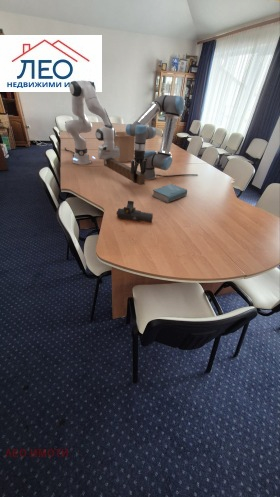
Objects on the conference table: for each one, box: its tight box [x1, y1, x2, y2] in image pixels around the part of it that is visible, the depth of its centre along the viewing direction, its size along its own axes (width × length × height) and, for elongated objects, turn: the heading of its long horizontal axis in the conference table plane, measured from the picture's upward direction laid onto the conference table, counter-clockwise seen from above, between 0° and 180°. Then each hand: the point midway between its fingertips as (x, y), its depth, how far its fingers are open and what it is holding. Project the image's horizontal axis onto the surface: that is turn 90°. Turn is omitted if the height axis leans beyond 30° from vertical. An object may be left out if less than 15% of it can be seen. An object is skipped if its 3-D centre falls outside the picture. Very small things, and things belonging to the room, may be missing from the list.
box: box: [114, 129, 135, 163], centre depth 244 cm, size 44×36×27 cm
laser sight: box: [116, 200, 154, 223], centre depth 136 cm, size 10×22×10 cm, turn 78°
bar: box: [103, 158, 146, 186], centre depth 182 cm, size 56×5×7 cm, turn 36°
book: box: [152, 183, 188, 204], centre depth 172 cm, size 23×16×5 cm
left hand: (109, 163), depth 197 cm, fingers closed on bar, 5 cm apart
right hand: (137, 182), depth 170 cm, fingers closed on bar, 5 cm apart
